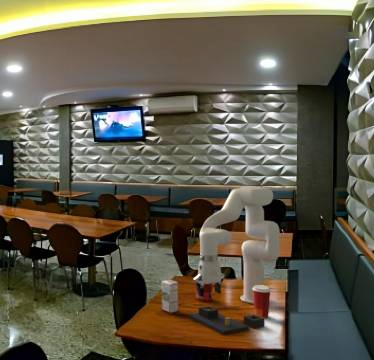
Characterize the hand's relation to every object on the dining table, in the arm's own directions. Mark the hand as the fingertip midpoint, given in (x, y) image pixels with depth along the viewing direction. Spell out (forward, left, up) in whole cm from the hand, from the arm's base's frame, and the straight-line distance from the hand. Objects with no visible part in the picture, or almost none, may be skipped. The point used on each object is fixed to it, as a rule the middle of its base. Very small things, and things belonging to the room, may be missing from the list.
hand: (209, 294), depth 206 cm
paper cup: (-24, +7, -12) cm, 28 cm away
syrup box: (+10, -17, -12) cm, 23 cm away
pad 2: (-12, +14, -12) cm, 22 cm away
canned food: (-17, -24, -12) cm, 32 cm away
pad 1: (+1, 0, -10) cm, 10 cm away
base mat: (+1, +6, -12) cm, 13 cm away
